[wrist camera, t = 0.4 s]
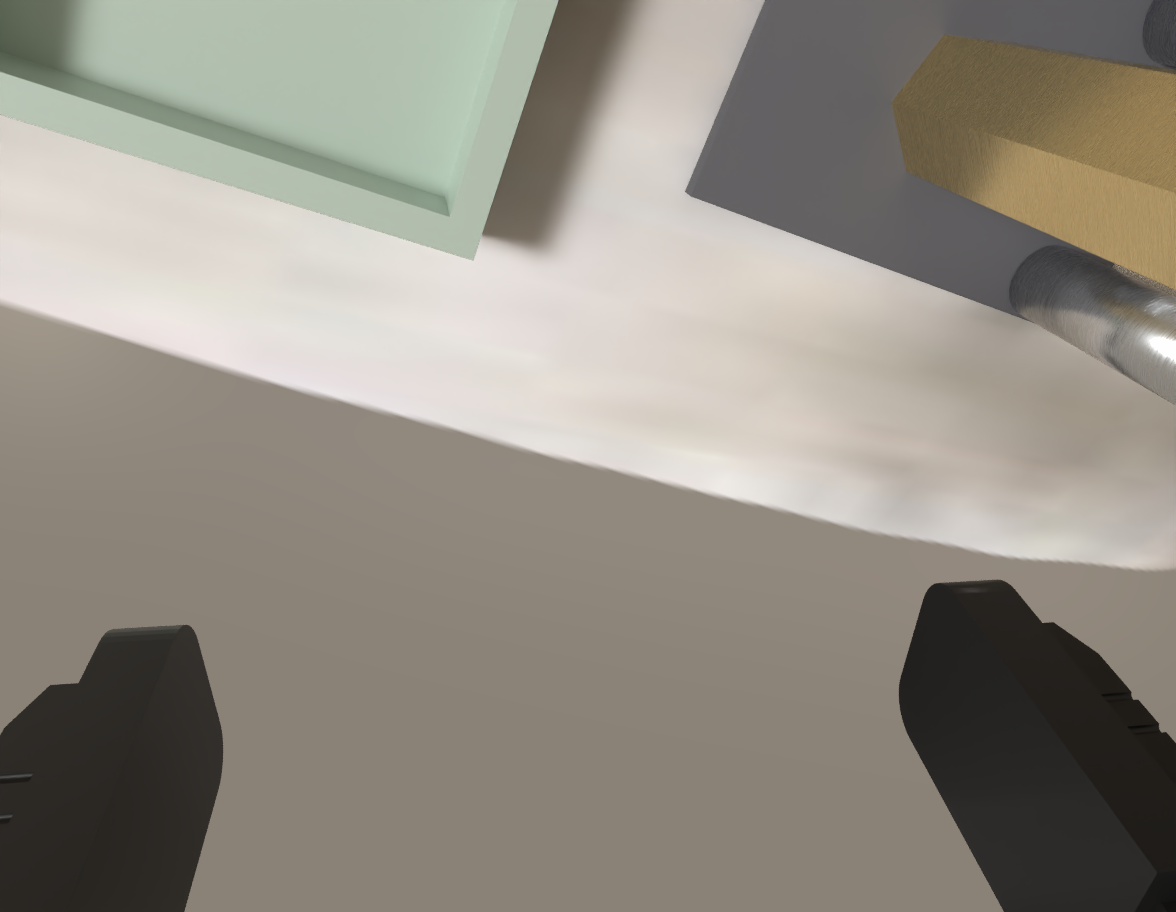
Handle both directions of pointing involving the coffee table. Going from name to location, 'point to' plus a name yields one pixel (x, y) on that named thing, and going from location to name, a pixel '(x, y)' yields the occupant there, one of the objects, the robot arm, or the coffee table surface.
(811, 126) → the mat
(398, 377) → the coffee table surface
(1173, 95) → the gold hexagonal pillar
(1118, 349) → the spacer posts
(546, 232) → the coffee table surface
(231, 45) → the parts tray
